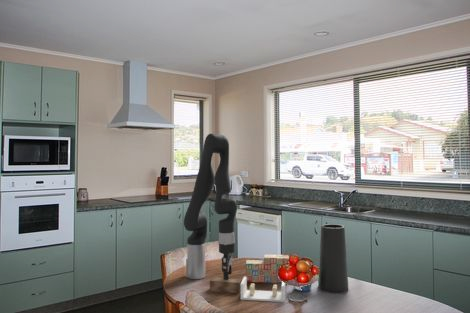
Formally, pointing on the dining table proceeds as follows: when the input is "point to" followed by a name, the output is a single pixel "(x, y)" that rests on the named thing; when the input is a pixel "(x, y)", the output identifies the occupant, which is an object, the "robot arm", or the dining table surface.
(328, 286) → the vase
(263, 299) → the peg stand
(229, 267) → the robot arm
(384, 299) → the dining table surface
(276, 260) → the stack of blocks
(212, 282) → the plank
